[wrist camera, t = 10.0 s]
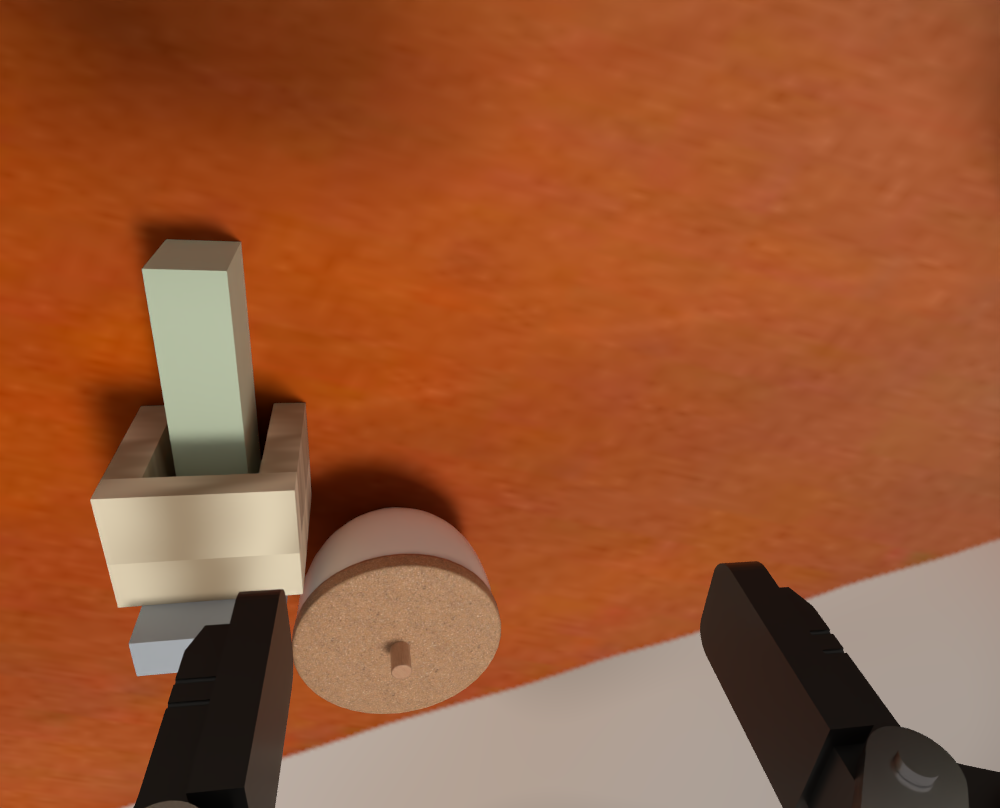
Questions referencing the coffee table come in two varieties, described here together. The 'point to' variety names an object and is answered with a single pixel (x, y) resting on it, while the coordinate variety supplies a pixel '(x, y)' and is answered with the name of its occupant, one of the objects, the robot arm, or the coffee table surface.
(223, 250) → the pale green rectangular bar
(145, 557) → the block
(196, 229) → the coffee table surface
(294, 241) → the coffee table surface
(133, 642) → the wall
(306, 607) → the lidded jar
